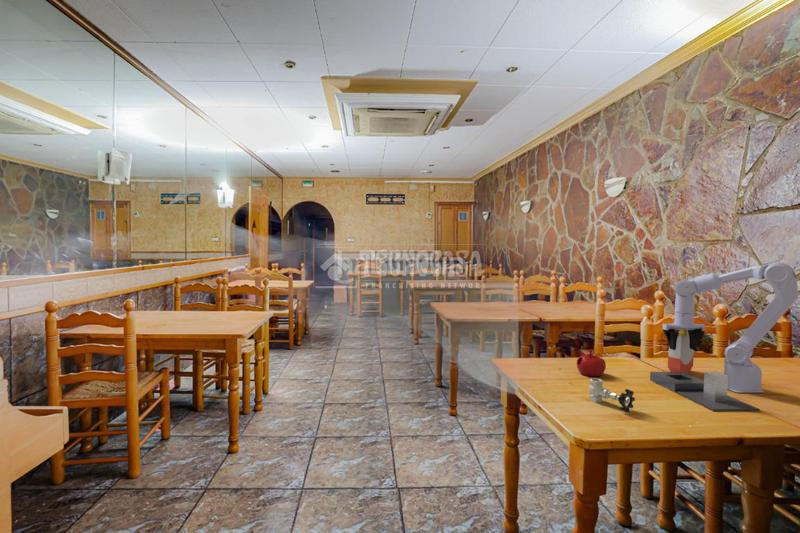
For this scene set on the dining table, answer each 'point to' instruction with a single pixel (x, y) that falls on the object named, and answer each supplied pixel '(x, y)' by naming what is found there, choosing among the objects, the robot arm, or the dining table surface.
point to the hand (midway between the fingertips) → (682, 349)
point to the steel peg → (715, 386)
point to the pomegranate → (591, 364)
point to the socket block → (678, 381)
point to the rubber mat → (730, 405)
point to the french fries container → (681, 354)
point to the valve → (609, 394)
